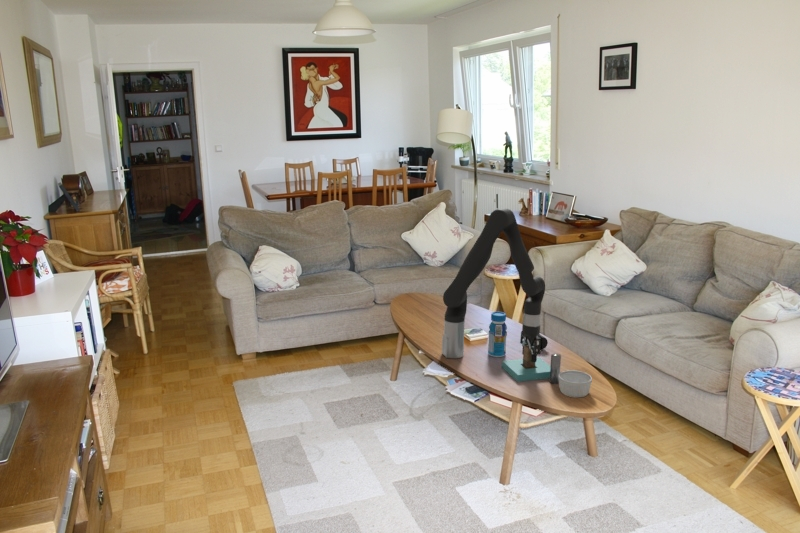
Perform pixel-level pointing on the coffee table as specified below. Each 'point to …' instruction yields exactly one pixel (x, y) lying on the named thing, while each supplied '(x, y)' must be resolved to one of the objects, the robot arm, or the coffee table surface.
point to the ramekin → (574, 383)
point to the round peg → (555, 368)
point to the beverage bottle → (497, 335)
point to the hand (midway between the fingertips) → (529, 358)
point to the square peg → (527, 358)
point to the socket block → (527, 370)
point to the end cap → (542, 341)
